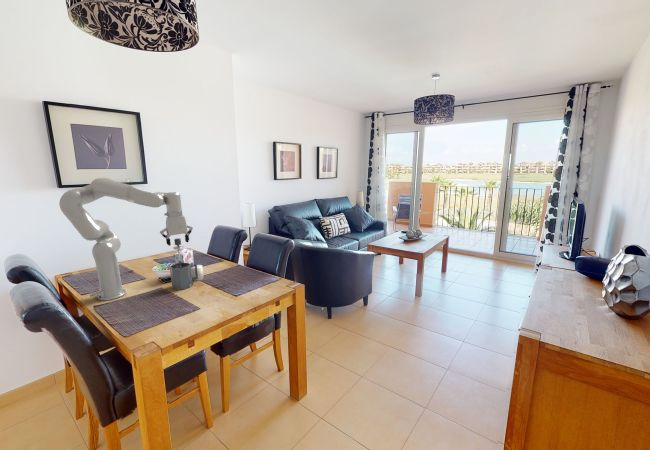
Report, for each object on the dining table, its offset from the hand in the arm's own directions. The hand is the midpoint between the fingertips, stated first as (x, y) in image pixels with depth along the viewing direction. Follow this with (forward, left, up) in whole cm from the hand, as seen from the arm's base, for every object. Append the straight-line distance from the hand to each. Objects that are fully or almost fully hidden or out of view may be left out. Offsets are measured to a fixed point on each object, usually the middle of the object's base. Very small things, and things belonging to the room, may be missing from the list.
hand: (178, 243), depth 164 cm
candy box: (+8, +18, -27) cm, 33 cm away
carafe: (+2, 0, -26) cm, 26 cm away
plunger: (0, 0, -17) cm, 17 cm away
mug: (+11, +7, -26) cm, 29 cm away
